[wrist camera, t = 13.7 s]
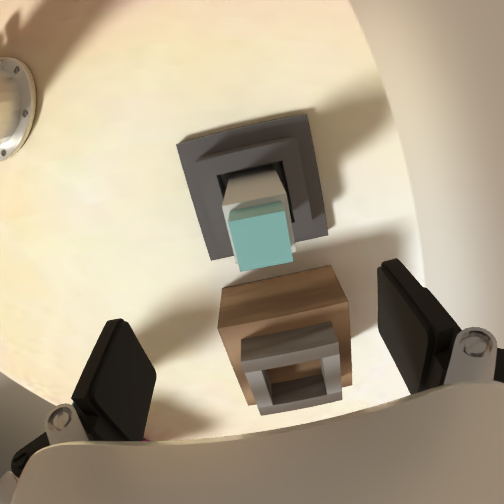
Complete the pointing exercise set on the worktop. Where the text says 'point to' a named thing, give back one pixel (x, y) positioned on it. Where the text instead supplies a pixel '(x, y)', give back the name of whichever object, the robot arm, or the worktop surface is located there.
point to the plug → (258, 219)
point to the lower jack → (248, 158)
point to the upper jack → (288, 339)
